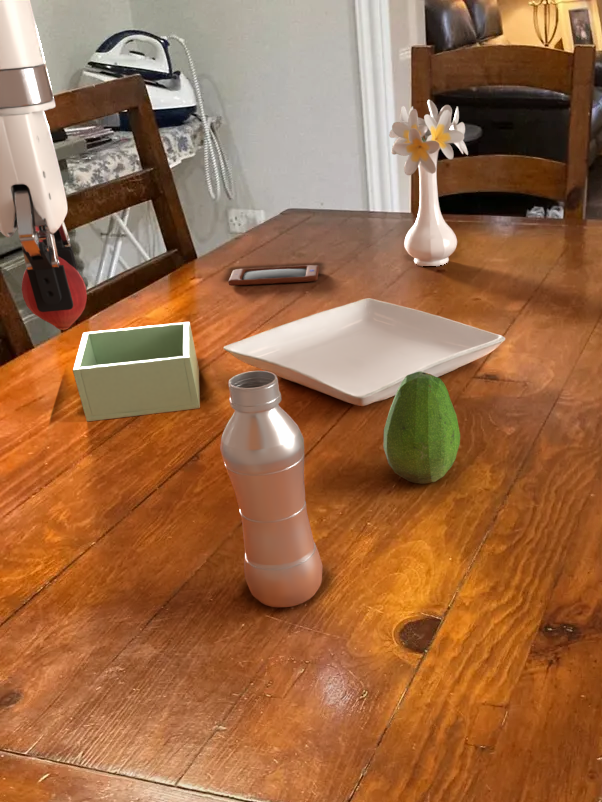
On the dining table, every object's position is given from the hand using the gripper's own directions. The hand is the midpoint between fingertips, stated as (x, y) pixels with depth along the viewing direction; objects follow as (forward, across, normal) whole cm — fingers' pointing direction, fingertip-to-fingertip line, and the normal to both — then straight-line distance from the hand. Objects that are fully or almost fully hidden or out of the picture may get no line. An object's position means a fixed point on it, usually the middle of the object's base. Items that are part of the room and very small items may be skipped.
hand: (60, 297), depth 91 cm
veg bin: (+19, -22, +3) cm, 30 cm away
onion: (+3, 0, 0) cm, 3 cm away
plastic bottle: (+19, +28, +18) cm, 39 cm away
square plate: (+19, -24, +32) cm, 44 cm away
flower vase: (+19, -69, +50) cm, 87 cm away
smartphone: (+19, -69, +22) cm, 75 cm away
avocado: (+19, +10, +34) cm, 40 cm away
